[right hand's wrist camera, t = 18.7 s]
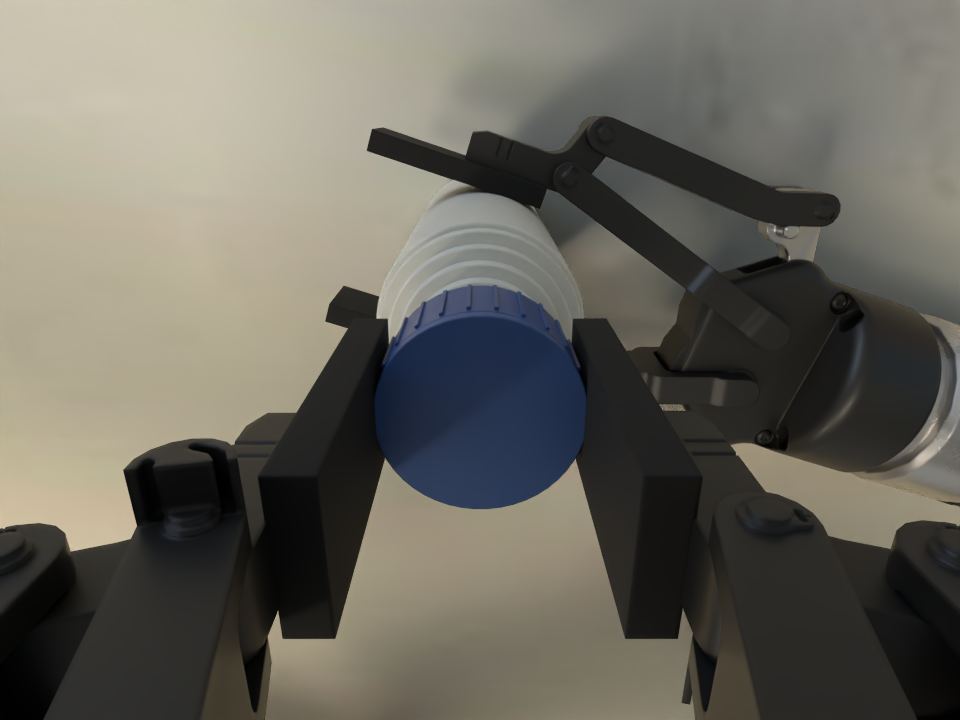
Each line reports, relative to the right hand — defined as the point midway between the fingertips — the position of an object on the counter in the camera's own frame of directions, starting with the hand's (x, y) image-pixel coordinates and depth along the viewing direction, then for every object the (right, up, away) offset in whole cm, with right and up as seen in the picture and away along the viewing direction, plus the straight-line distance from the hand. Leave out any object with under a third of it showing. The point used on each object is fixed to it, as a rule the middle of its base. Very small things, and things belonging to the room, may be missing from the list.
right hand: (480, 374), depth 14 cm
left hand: (-5, +6, +10) cm, 12 cm away
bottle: (0, +7, +17) cm, 18 cm away
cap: (0, -1, -2) cm, 2 cm away
